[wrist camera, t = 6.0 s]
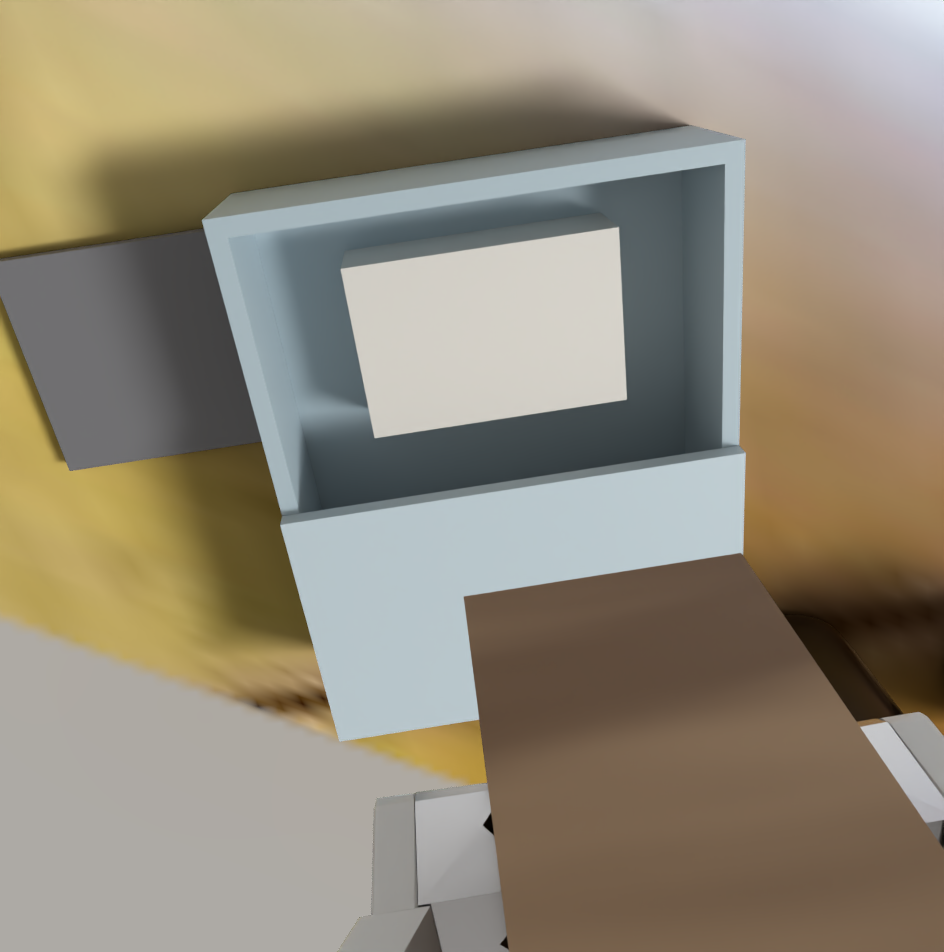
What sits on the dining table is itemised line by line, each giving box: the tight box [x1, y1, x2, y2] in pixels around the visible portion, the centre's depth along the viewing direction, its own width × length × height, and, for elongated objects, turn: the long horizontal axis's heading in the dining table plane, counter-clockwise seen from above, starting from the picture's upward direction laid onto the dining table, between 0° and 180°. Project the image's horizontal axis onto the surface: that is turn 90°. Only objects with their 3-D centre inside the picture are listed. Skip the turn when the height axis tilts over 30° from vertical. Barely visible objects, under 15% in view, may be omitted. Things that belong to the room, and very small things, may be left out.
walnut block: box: [464, 553, 944, 952], centre depth 10 cm, size 4×4×6 cm
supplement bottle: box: [784, 615, 903, 722], centre depth 35 cm, size 7×7×12 cm
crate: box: [202, 125, 746, 741], centre depth 31 cm, size 20×16×6 cm
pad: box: [0, 228, 262, 471], centre depth 31 cm, size 8×8×1 cm
